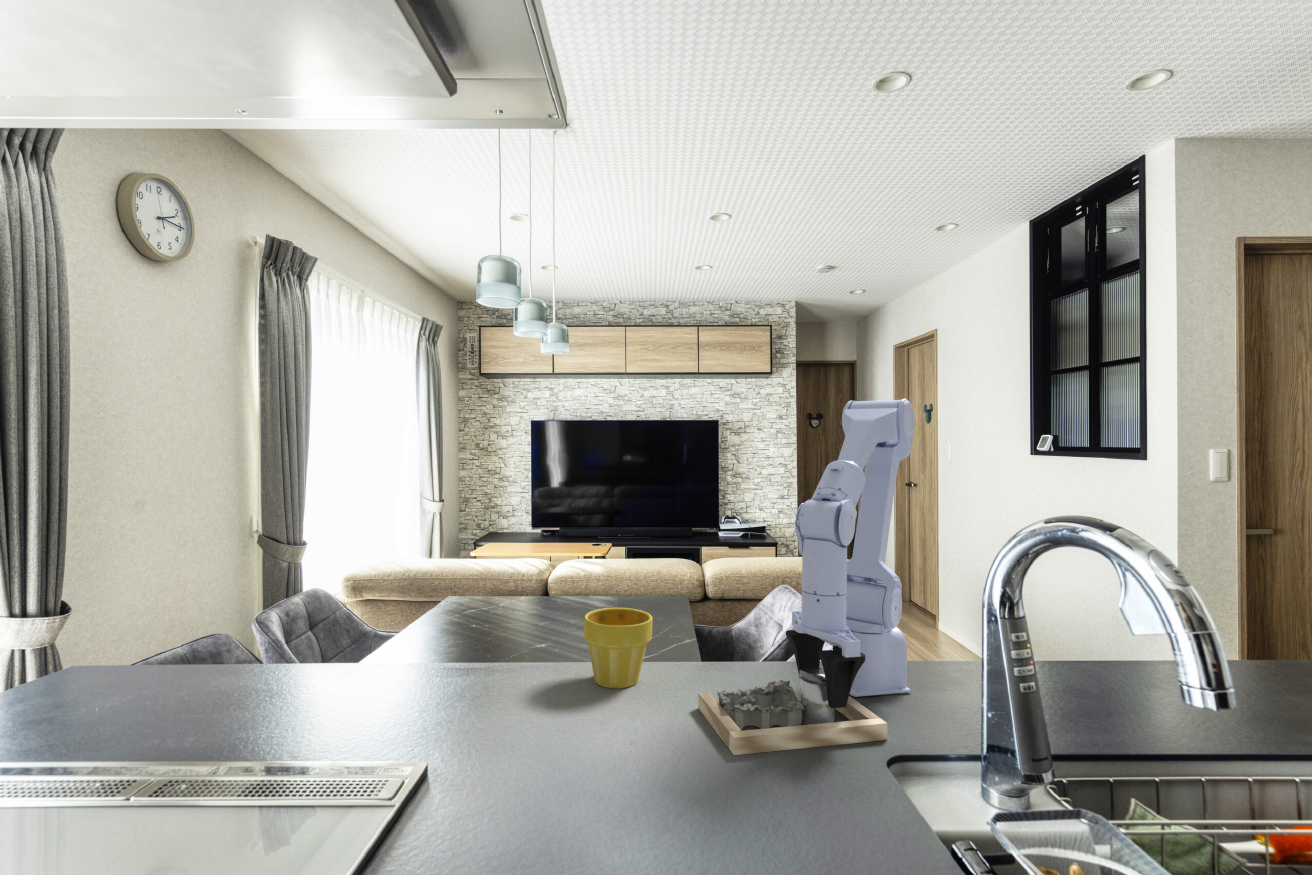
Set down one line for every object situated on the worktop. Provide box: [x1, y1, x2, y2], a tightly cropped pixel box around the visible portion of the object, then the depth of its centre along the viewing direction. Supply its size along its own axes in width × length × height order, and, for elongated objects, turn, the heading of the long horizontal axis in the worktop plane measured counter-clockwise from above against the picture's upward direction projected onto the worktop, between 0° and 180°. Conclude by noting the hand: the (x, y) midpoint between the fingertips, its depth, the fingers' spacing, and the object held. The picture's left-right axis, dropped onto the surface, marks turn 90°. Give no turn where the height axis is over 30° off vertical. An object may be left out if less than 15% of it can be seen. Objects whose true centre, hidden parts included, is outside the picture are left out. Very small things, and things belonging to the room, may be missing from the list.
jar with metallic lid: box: [799, 666, 836, 725], centre depth 82 cm, size 5×5×6 cm
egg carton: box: [716, 680, 804, 731], centre depth 82 cm, size 11×8×4 cm
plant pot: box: [583, 607, 654, 689], centre depth 95 cm, size 10×10×10 cm
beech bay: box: [697, 692, 889, 756], centre depth 81 cm, size 20×14×2 cm
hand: (822, 694), depth 83 cm, fingers open, 7 cm apart
